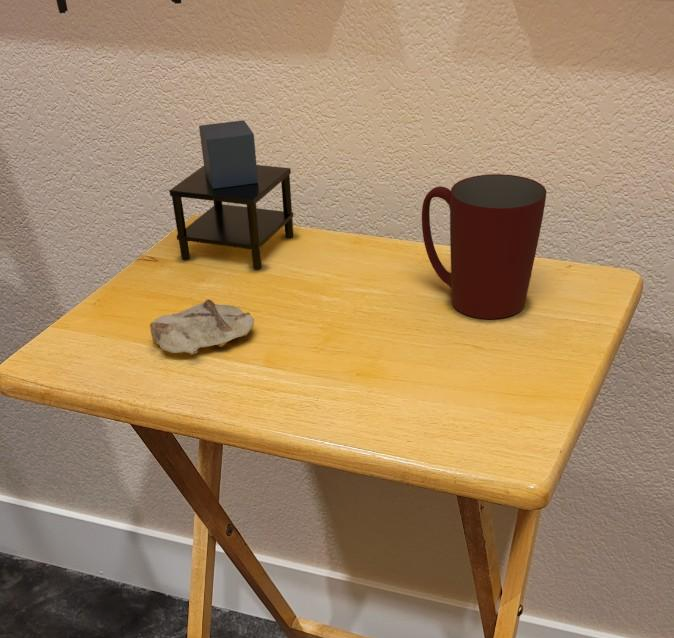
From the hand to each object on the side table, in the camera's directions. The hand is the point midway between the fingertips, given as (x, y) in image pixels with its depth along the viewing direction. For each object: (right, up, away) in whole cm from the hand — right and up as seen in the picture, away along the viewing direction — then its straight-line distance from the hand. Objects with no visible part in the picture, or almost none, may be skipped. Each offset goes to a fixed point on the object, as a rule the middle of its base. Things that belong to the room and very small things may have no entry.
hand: (119, 5), depth 76 cm
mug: (+33, -20, +15) cm, 42 cm away
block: (+7, -5, +21) cm, 23 cm away
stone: (+6, -26, +11) cm, 28 cm away
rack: (+7, -10, +26) cm, 29 cm away
